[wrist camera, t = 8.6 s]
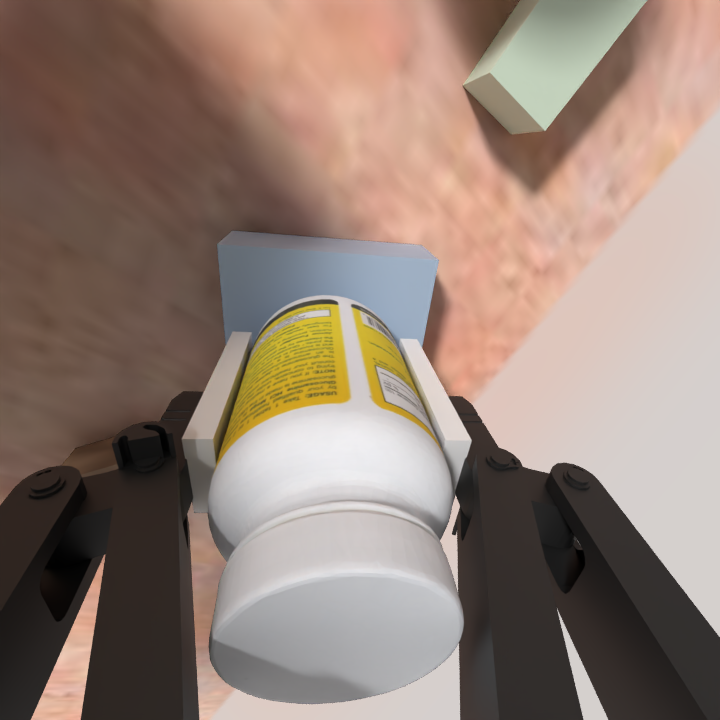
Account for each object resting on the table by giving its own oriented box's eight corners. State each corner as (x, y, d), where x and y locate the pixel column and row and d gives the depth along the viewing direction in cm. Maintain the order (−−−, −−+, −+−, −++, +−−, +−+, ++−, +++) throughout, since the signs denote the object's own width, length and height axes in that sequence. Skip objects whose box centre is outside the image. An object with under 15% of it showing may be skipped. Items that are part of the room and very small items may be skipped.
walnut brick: (107, 480, 24) (81, 520, 21) (77, 446, 22) (45, 484, 20) (195, 454, 24) (180, 492, 21) (171, 418, 22) (151, 454, 20)
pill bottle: (245, 405, 17) (153, 728, 8) (263, 275, 14) (154, 523, 5) (375, 424, 18) (438, 720, 9) (415, 308, 16) (569, 556, 6)
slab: (242, 393, 22) (232, 426, 19) (232, 230, 17) (216, 244, 15) (396, 397, 23) (406, 428, 20) (421, 245, 18) (438, 260, 16)
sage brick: (509, 134, 17) (545, 131, 14) (461, 86, 16) (489, 72, 13) (618, -11, 15) (683, -47, 12) (570, -78, 14) (631, -133, 11)
